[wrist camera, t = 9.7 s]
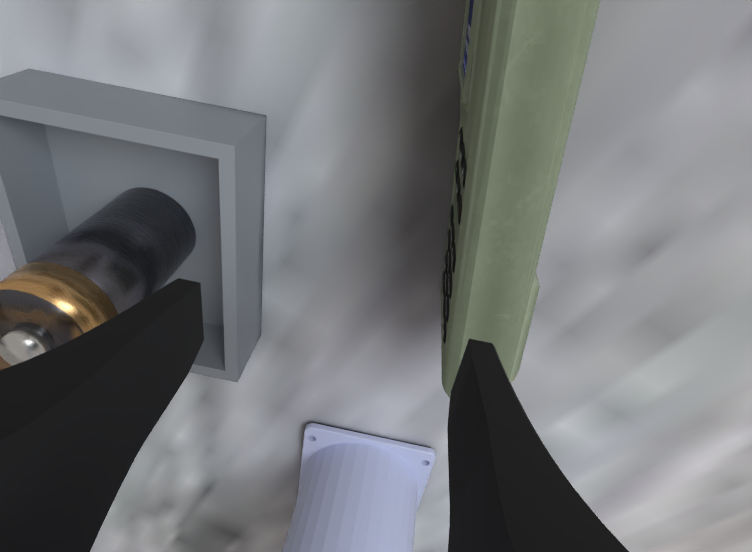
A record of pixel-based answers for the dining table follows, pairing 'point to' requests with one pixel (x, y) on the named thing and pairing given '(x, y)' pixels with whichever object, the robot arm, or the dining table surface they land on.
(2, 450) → the robot arm
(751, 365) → the dining table surface
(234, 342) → the cell bin
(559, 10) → the handheld radio
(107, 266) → the battery cell
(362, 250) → the dining table surface
